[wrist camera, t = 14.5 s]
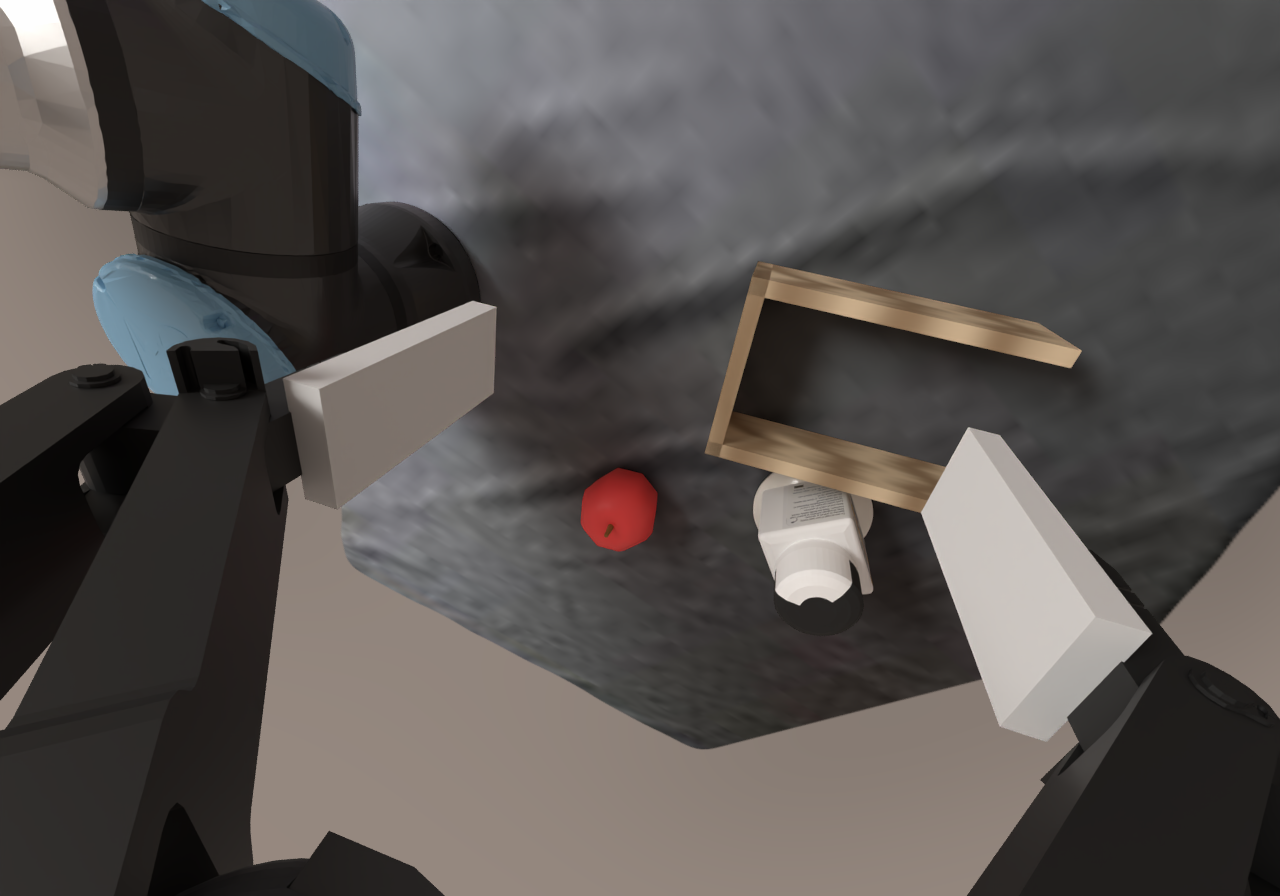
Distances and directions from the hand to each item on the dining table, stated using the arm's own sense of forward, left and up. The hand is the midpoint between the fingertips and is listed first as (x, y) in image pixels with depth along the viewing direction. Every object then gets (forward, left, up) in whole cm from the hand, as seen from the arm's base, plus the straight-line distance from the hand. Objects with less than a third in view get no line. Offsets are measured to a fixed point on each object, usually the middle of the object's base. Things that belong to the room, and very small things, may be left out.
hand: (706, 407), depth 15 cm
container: (+11, -22, -31) cm, 40 cm away
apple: (-7, -26, -32) cm, 42 cm away
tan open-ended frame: (+11, -8, -32) cm, 34 cm away
